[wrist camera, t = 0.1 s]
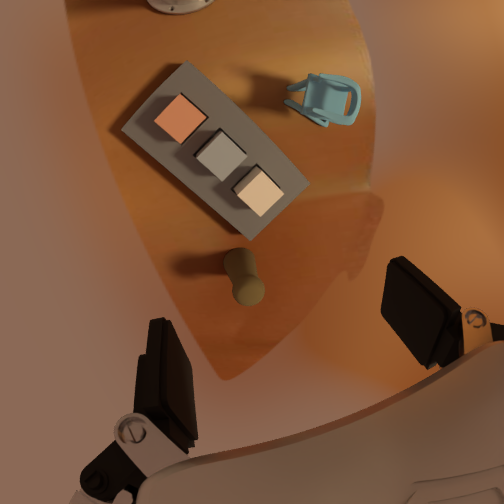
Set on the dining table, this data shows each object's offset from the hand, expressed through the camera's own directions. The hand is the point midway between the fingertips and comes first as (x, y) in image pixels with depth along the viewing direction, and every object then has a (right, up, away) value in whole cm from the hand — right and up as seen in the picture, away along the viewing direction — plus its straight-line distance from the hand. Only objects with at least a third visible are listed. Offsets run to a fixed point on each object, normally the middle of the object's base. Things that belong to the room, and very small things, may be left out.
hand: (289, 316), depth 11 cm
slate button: (-6, +17, +29) cm, 35 cm away
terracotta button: (-12, +22, +25) cm, 36 cm away
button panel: (-7, +19, +31) cm, 37 cm away
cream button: (-1, +13, +33) cm, 35 cm away
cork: (-4, +1, +42) cm, 42 cm away
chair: (+8, +28, +30) cm, 42 cm away
